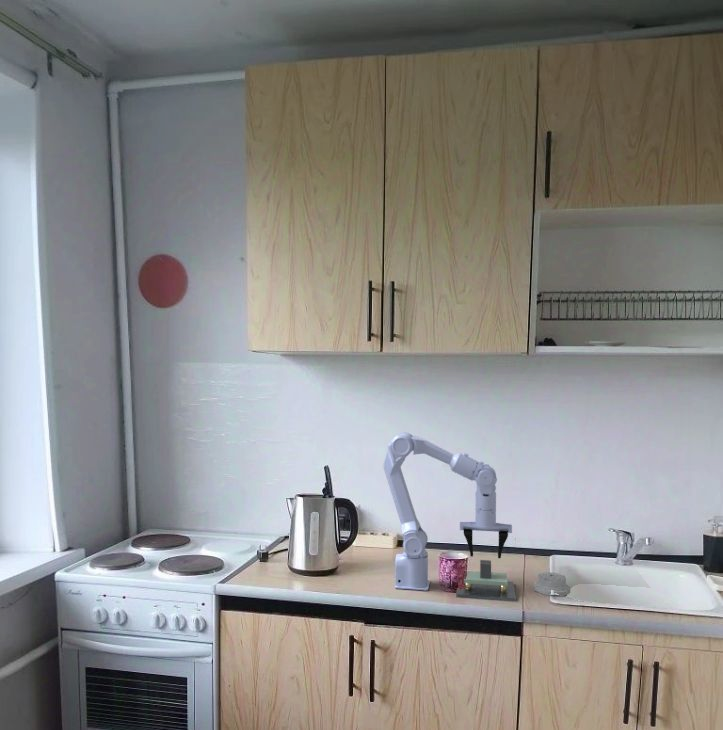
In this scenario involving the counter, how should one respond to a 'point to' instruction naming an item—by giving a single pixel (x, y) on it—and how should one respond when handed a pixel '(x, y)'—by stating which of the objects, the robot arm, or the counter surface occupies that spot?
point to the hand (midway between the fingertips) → (485, 556)
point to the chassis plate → (488, 592)
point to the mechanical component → (551, 584)
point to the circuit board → (493, 581)
